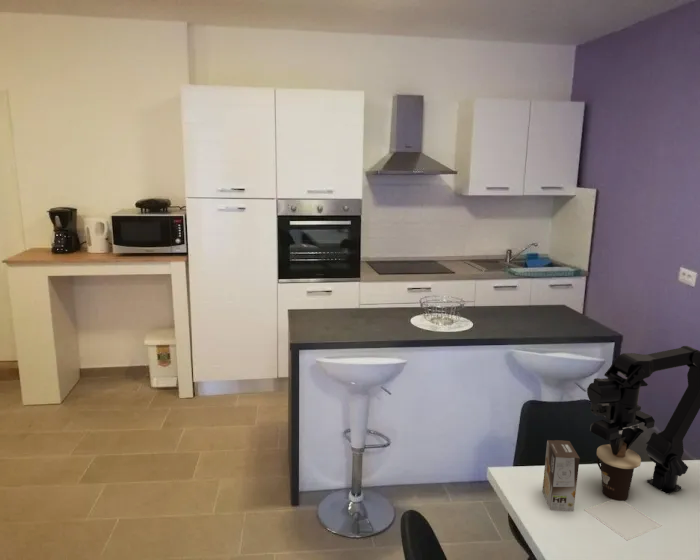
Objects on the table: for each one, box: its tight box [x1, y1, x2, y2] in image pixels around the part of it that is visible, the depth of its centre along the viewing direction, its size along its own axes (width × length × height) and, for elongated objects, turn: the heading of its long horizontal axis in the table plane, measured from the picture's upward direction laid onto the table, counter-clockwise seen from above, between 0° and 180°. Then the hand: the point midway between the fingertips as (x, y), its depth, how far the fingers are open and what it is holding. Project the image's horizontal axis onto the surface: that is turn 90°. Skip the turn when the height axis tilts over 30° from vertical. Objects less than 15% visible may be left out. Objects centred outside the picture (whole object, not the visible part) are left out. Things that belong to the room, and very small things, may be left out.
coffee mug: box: [596, 455, 635, 502], centre depth 152 cm, size 12×9×10 cm
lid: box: [596, 442, 642, 470], centre depth 149 cm, size 11×11×4 cm
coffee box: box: [542, 439, 581, 512], centre depth 146 cm, size 9×6×16 cm
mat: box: [584, 499, 663, 541], centre depth 141 cm, size 13×13×1 cm
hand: (619, 452), depth 150 cm, fingers closed on lid, 3 cm apart
